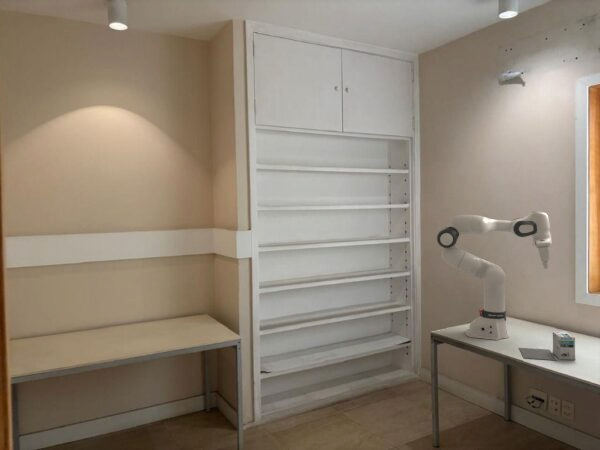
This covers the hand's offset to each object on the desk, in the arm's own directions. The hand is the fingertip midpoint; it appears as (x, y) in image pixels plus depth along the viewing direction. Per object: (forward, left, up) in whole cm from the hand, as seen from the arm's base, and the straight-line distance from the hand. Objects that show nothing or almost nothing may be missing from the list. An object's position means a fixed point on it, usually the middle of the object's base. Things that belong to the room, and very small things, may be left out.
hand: (545, 266), depth 252 cm
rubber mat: (-9, -29, -39) cm, 49 cm away
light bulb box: (+3, -29, -39) cm, 49 cm away
